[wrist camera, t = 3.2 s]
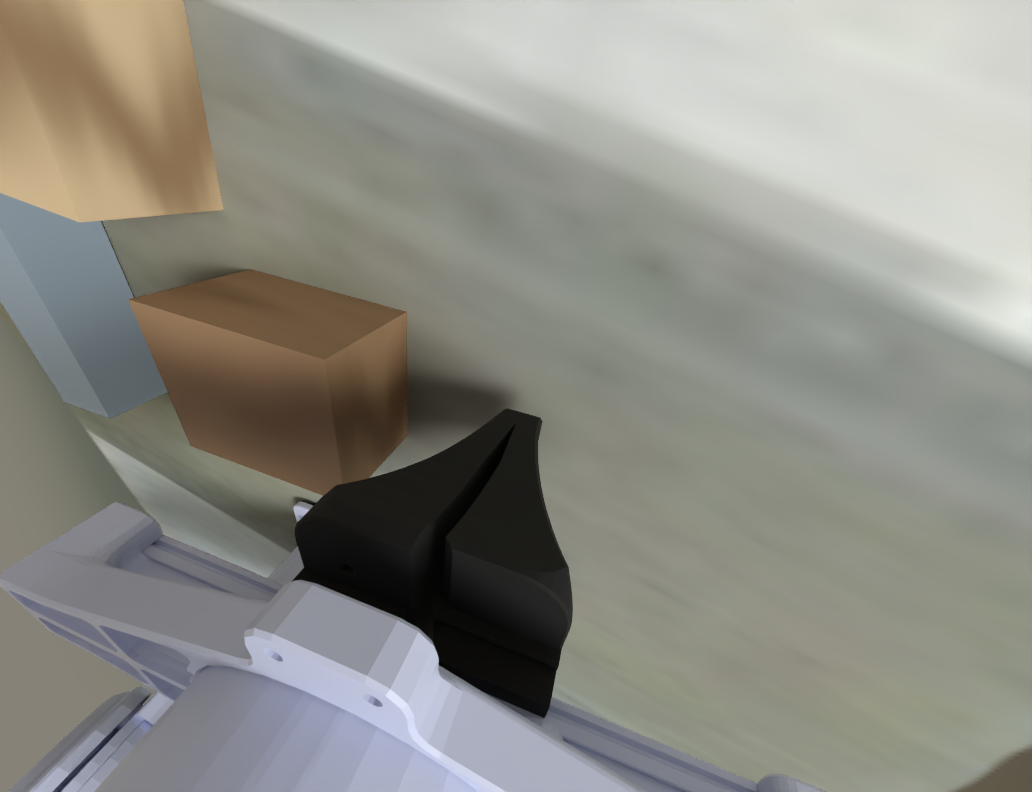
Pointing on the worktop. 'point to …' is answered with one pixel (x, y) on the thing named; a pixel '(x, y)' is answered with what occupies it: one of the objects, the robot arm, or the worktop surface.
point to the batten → (74, 309)
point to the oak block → (103, 110)
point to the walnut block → (282, 375)
